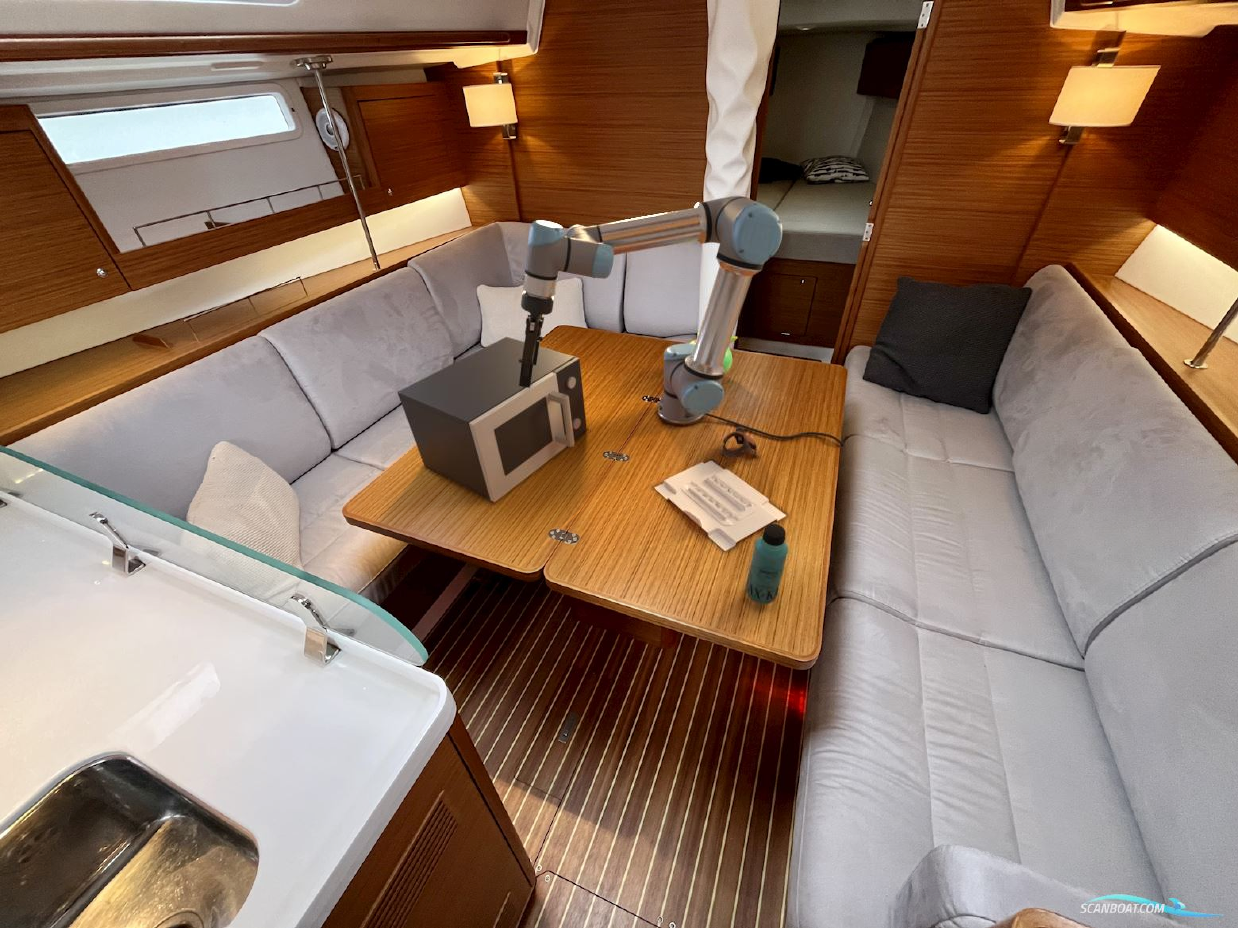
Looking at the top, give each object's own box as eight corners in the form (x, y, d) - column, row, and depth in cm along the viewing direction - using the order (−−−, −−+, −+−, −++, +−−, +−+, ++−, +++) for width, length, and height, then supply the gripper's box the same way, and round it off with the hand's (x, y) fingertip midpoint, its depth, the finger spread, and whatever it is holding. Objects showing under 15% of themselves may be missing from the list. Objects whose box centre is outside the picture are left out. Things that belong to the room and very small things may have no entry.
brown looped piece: (761, 465, 140) (752, 448, 134) (729, 474, 144) (719, 458, 138) (757, 432, 147) (747, 416, 141) (726, 442, 151) (716, 426, 145)
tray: (711, 460, 142) (712, 449, 139) (786, 518, 124) (789, 507, 121) (653, 488, 133) (653, 477, 131) (724, 554, 115) (726, 544, 113)
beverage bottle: (740, 585, 107) (751, 519, 94) (771, 583, 107) (786, 516, 95) (749, 611, 102) (762, 544, 89) (781, 608, 102) (798, 541, 90)
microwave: (589, 431, 157) (581, 358, 141) (496, 503, 132) (474, 425, 116) (519, 405, 171) (506, 336, 156) (424, 466, 146) (397, 391, 131)
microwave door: (581, 452, 147) (573, 378, 132) (510, 510, 129) (490, 432, 114) (562, 445, 151) (551, 371, 136) (490, 500, 132) (468, 422, 117)
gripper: (529, 276, 127) (520, 352, 138) (514, 306, 106) (505, 394, 118) (558, 282, 128) (547, 358, 140) (549, 314, 107) (537, 399, 119)
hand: (528, 374), depth 129 cm, fingers open, 13 cm apart
